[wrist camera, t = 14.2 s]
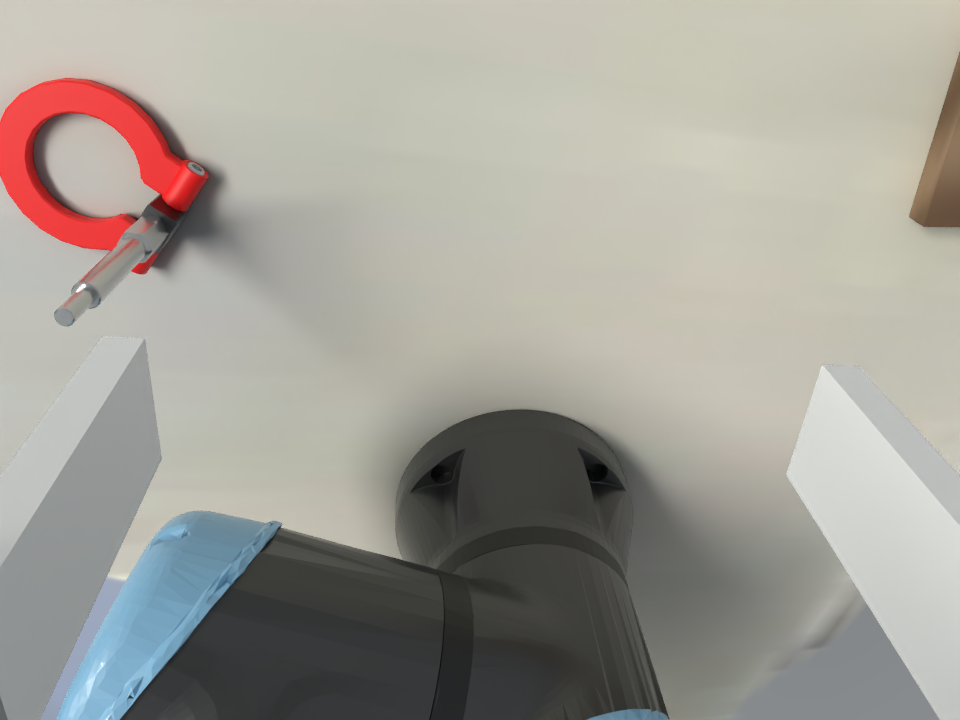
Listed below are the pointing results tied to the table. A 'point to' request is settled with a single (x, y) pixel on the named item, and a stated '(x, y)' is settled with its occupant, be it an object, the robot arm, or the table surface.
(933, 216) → the board
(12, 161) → the tow hook
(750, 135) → the table surface
